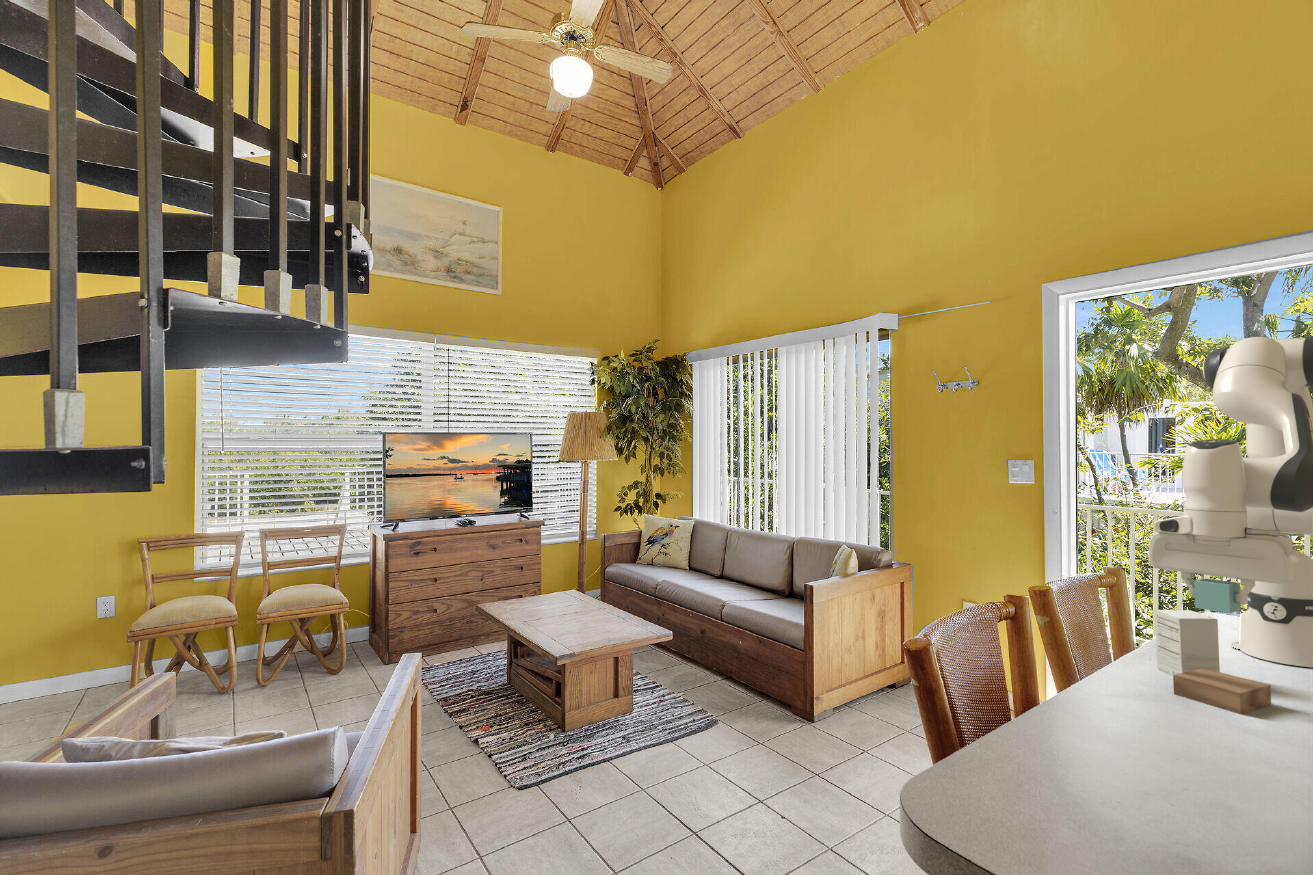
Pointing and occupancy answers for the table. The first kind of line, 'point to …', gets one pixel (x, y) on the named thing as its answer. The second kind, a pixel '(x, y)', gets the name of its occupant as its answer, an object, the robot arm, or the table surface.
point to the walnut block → (1222, 690)
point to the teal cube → (1216, 595)
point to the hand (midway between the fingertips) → (1217, 600)
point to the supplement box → (1186, 641)
